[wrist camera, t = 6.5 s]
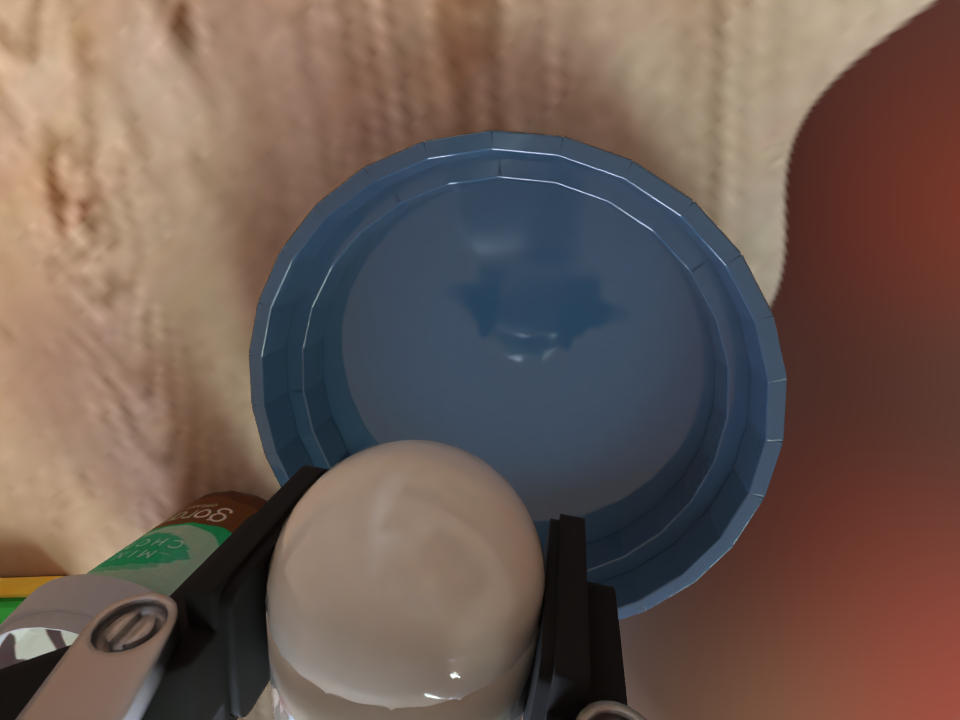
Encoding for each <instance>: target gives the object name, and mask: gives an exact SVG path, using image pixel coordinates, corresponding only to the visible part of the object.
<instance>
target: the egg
mask: <svg viewBox="0 0 960 720" xmlns="http://www.w3.org/2000/svg"><path fill="white" fill-rule="evenodd" d="M545 586H546V575H545V561H544V556H543V551H542V546H541V541H540V538H539V535H538V532H537V529H536V526H535V523H534V521H533V519H532V517H531V515H530V513H529V510H528V508H527V506H526V505H525V503H524V502H523V500H522V498H521V497H520V495H519V494H518V492H517V491H516V490H515V489H514V488H513V487H512V485H511V484H510V483H509V482H508V481H507V479H506V478H505V477H504V476H503V475H502V474H501V473H500V472H499V471H498V470H497V469H495V468H494V467H492V466H491V465H489V464H488V463H487V462H485V461H484V460H482V459H481V458H479V457H477V456H476V455H474V454H473V453H471V452H469V451H467V450H465V449H463V448H460V447H457V446H454V445H451V444H447V443H443V442H438V441H431V440H420V439H407V440H395V441H389V442H383V443H380V444H376V445H373V446H370V447H368V448H365V449H363V450H361V451H359V452H357V453H355V454H353V455H351V456H349V457H347V458H345V459H343V460H341V461H340V462H338V463H337V464H335V465H334V466H332V467H331V468H330V469H329V470H328V471H326V472H325V473H324V474H323V475H322V476H321V477H320V478H319V479H318V480H317V481H316V482H315V483H314V484H312V485H311V486H310V487H309V488H308V489H307V490H306V491H305V493H304V494H303V495H302V497H301V498H300V500H299V501H298V502H297V504H296V505H295V507H294V508H293V510H292V512H291V513H290V515H289V516H288V518H287V519H286V521H285V523H284V524H283V527H282V529H281V532H280V535H279V537H278V540H277V543H276V546H275V549H274V552H273V554H272V557H271V560H270V563H269V572H268V582H267V594H266V622H267V637H268V653H269V669H270V685H271V701H272V707H273V712H274V716H275V720H521V718H522V715H523V712H524V709H525V706H526V701H527V696H528V690H529V685H530V679H531V674H532V668H533V663H534V657H535V652H536V646H537V641H538V635H539V630H540V624H541V617H542V609H543V602H544V594H545Z"/></svg>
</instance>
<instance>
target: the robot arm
mask: <svg viewBox="0 0 960 720" xmlns="http://www.w3.org/2000/svg"><path fill="white" fill-rule="evenodd" d="M326 471H328V470H327V469H324V468H319V467H314V466H308V465H304V466H302V467H301V468H300V469H299V470H298V471H297V472H296V473H295V474H294V475H293V476H292V477H291V478H290V479H289V480H288V481H287V482H286V483H285V484H284V485H283V486H282V487H281V488H280V489H279V490H278V491H277V492H276V493H275V494H274V495H273V496H272V497H271V498H270V499H269V500H268V501H267V502H266V503H265V504H264V505H263V506H262V507H261V508H260V509H259V510H258V511H257V512H256V514H252V515H251V516H250V517H248V518H247V519H246V520H245V521H244V522H243V523H242V524H241V525H240V526H239V527H238V528H237V529H236V530H235V531H234V532H233V533H232V534H231V535H230V536H229V537H228V538H227V539H226V540H225V541H224V542H223V543H222V544H221V545H220V546H219V547H218V548H217V549H216V550H215V551H214V552H213V553H212V554H211V555H210V556H209V557H208V558H207V559H206V560H205V561H204V562H203V563H202V564H201V565H200V566H199V567H198V568H197V569H196V570H195V571H194V572H193V573H192V574H191V575H190V576H189V577H188V578H187V579H186V580H185V581H184V582H183V583H182V584H181V585H180V586H179V587H178V588H177V589H176V590H175V591H174V592H173V593H172V594H171V595H170V596H166V595H164V594H159V593H144V594H137V595H133V596H130V597H127V598H124V599H121V600H119V601H117V602H115V603H113V604H111V605H109V606H108V607H106V608H105V609H103V610H102V611H101V612H99V613H98V614H96V615H95V616H94V617H93V619H92V620H91V621H90V622H89V623H88V624H87V625H86V626H85V627H84V629H83V630H82V631H81V633H80V634H79V635H78V637H77V638H76V639H75V641H74V642H73V643H72V645H69V646H66V647H63V648H60V649H57V650H54V651H51V652H48V653H46V654H43V655H40V656H37V657H34V658H31V659H28V660H25V661H22V662H19V663H17V664H14V665H11V666H8V667H5V668H2V669H0V720H237V719H238V717H239V716H240V717H245V716H247V715H248V714H249V712H250V711H251V710H252V708H253V706H254V705H255V703H256V702H257V700H258V698H259V697H260V695H261V694H262V692H263V690H264V689H265V687H266V686H267V684H268V682H269V681H270V669H269V653H268V637H267V622H266V594H267V582H268V572H269V563H270V560H271V557H272V554H273V552H274V549H275V546H276V543H277V540H278V537H279V535H280V532H281V529H282V527H283V524H284V523H285V521H286V519H287V518H288V516H289V515H290V513H291V512H292V510H293V508H294V507H295V505H296V504H297V502H298V501H299V500H300V498H301V497H302V495H303V494H304V493H305V491H306V490H307V489H308V488H309V487H310V486H311V485H312V484H314V483H315V482H316V481H317V480H318V479H319V478H320V477H321V476H322V475H323V474H324V473H325V472H326ZM544 561H545V575H546V586H545V594H544V602H543V609H542V617H541V624H540V630H539V635H538V641H537V646H536V652H535V657H534V663H533V668H532V674H531V679H530V685H529V690H528V696H527V701H526V706H525V709H524V714H523V720H646V719H645V718H644V717H643V716H642V715H641V714H640V713H638V712H637V711H635V710H634V709H632V708H631V707H629V706H628V705H627V697H626V686H625V677H624V667H623V658H622V648H621V639H620V630H619V620H618V610H617V600H616V593H615V589H614V587H611V586H607V585H602V584H597V583H592V582H587V562H586V533H585V518H581V517H576V516H571V515H566V514H560V517H559V520H557V519H552V518H550V522H549V527H548V533H547V539H546V544H545V550H544Z"/></svg>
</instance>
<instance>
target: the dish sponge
mask: <svg viewBox="0 0 960 720" xmlns="http://www.w3.org/2000/svg"><path fill="white" fill-rule="evenodd" d="M61 577H64V576H45V577H16V578H0V624H1V623H2V622H3V621H4V620H5V619H6V618H7V617H8V616H9V615H10V614H11V613H12V612H13V611H14V610H15V609H16V608H17V607H18V606H19V605H20V604H21V603H22V602H23V601H24V600H25V599H26V598H27V597H28V596H29V595H30V594H31V593H32V592H33V591H34V590H36V589H37V588H38V587H39V586H41V585H43V584H45V583H47V582H49V581H51V580H53V579H57V578H61Z"/></svg>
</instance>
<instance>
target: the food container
mask: <svg viewBox="0 0 960 720" xmlns="http://www.w3.org/2000/svg"><path fill="white" fill-rule="evenodd" d="M266 502H267V501H265V500H263V499H261V498H259V497H256V496H252V495H248V494H243V493H239V492H234V491H229V492H215V493H211V494H208V495H205V496H203V497H201V498H199V499H197V500H196V501H194V502H193V503H191V504H190V505H188V506H187V507H185V508H184V509H182V510H181V511H179V512H178V513H176V514H175V515H173V516H172V517H170V518H169V519H167V520H166V521H164V522H163V523H161V524H160V525H158V526H157V527H155V528H154V529H152V530H151V531H149V532H148V533H146V534H145V535H143V536H142V537H140V538H139V539H137V540H136V541H134V542H133V543H131V544H130V545H128V546H127V547H125V548H124V549H122V550H121V551H119V552H118V553H116V554H115V555H113V556H112V557H110V558H109V559H107V560H106V561H104V562H103V563H101V564H100V565H98V566H97V567H95V568H94V569H92V570H91V571H89V572H88V573H86V574H82V575H68V576H64V577H61V578H57V579H53V580H51V581H49V582H47V583H45V584H43V585H41V586H39V587H38V588H37V589H36V590H34V591H33V592H32V593H31V594H30V595H29V596H28V597H27V598H26V599H25V600H24V601H23V602H22V603H21V604H20V605H19V606H18V607H17V608H16V609H15V610H14V611H13V612H12V613H11V614H10V615H9V616H8V617H7V618H6V619H5V620H4V621H3V622H2V623H1V624H0V669H2V668H5V667H8V666H11V665H14V664H17V663H19V662H22V661H25V660H28V659H31V658H34V657H37V656H40V655H43V654H46V653H48V652H51V651H54V650H57V649H60V648H63V647H66V646H69V645H72V643H73V642H74V641H75V639H76V638H77V637H78V635H79V634H80V633H81V631H82V630H83V629H84V627H85V626H86V625H87V624H88V623H89V622H90V621H91V620H92V619H93V617H94V616H95V615H96V614H98V613H99V612H101V611H102V610H103V609H105V608H106V607H108V606H109V605H111V604H113V603H115V602H117V601H119V600H121V599H124V598H127V597H130V596H133V595H137V594H144V593H159V594H164V595H166V596H170V595H171V594H172V593H173V592H174V591H175V590H176V589H177V588H178V587H179V586H180V585H181V584H182V583H183V582H184V581H185V580H186V579H187V578H188V577H189V576H190V575H191V574H192V573H193V572H194V571H195V570H196V569H197V568H198V567H199V566H200V565H201V564H202V563H203V562H204V561H205V560H206V559H207V558H208V557H209V556H210V555H211V554H212V553H213V552H214V551H215V550H216V549H217V548H218V547H219V546H220V545H221V544H222V543H223V542H224V541H225V540H226V539H227V538H228V537H229V536H230V535H231V534H232V533H233V532H234V531H235V530H236V529H237V528H238V527H239V526H240V525H241V524H242V523H243V522H244V521H245V520H246V519H247V518H248V517H250V516H251V515H252V514H256V512H257V511H258V510H259V509H260V508H261V507H262V506H263V505H264V504H265V503H266Z"/></svg>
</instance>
